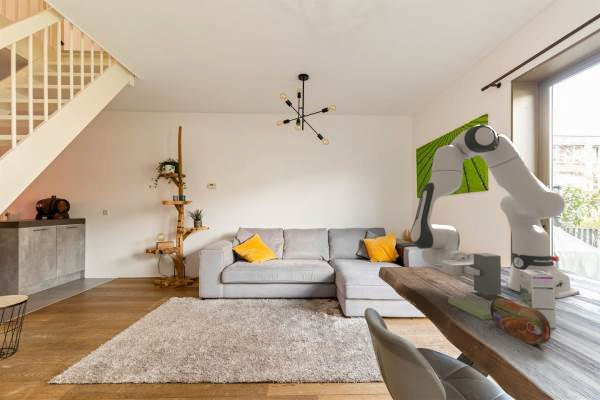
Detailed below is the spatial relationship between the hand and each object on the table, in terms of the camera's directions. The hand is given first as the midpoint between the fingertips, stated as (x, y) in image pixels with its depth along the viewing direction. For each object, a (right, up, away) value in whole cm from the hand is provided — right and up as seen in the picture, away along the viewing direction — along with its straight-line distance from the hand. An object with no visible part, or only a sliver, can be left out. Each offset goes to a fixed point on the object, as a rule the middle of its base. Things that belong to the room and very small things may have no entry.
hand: (489, 272), depth 85 cm
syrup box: (+7, -12, -9) cm, 17 cm away
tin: (-4, -12, -16) cm, 21 cm away
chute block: (0, -7, +1) cm, 7 cm away
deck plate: (0, -12, +2) cm, 12 cm away
